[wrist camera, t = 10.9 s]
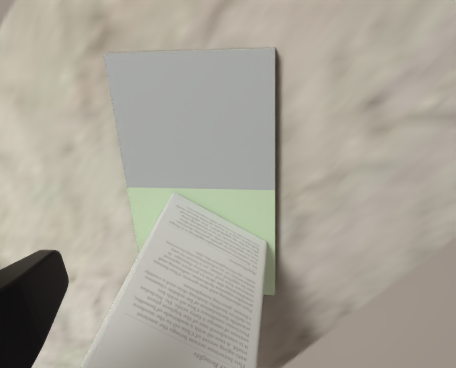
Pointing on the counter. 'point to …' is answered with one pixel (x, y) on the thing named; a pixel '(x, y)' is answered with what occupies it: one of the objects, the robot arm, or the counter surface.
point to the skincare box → (187, 297)
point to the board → (198, 135)
